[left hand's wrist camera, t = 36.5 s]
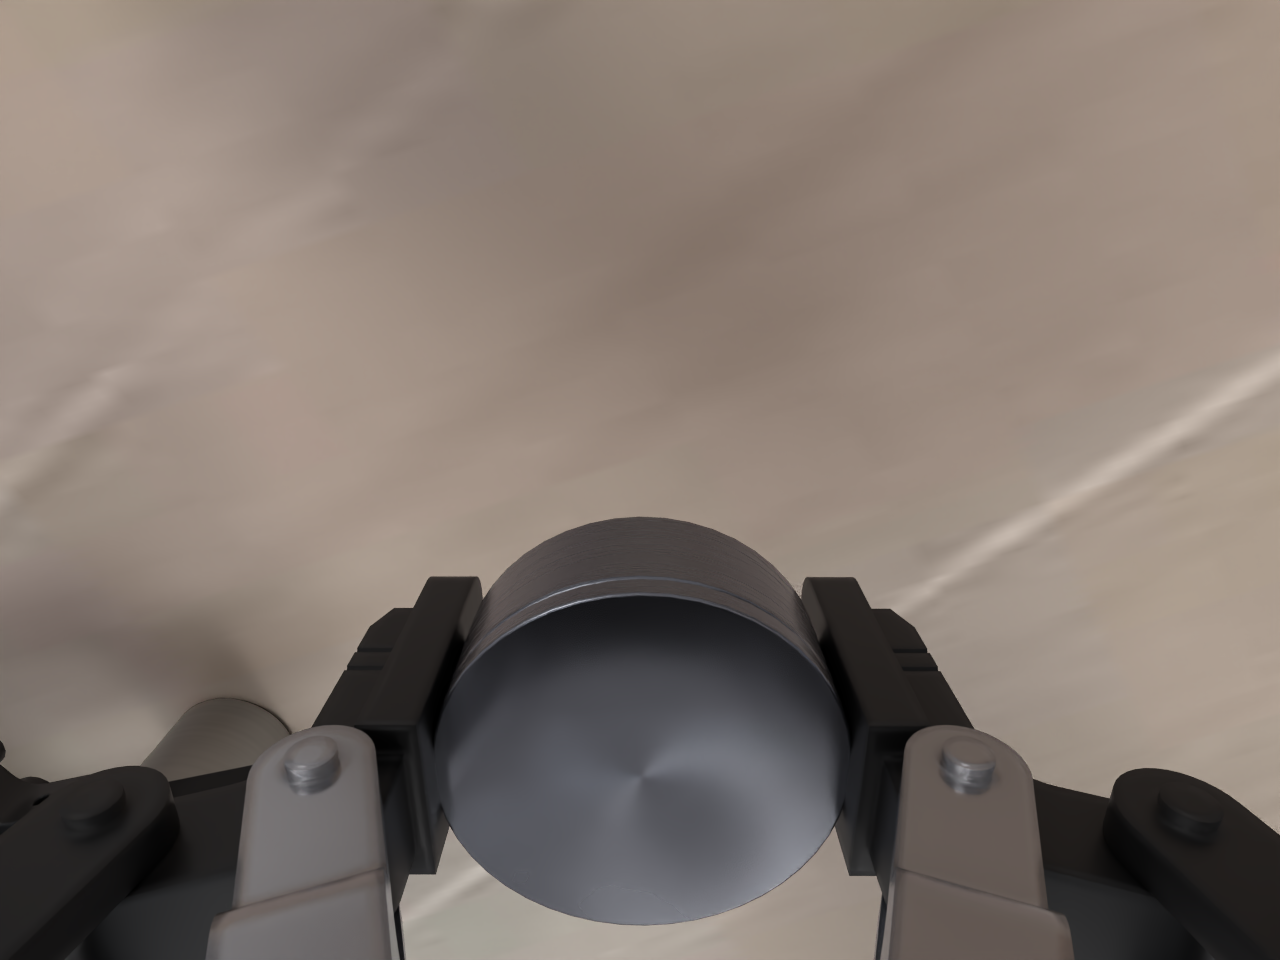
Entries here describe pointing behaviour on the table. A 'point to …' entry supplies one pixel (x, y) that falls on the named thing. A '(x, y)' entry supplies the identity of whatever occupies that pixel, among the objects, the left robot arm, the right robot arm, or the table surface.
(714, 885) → the lid
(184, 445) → the table surface
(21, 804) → the right robot arm
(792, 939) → the table surface
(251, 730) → the grey cylinder
